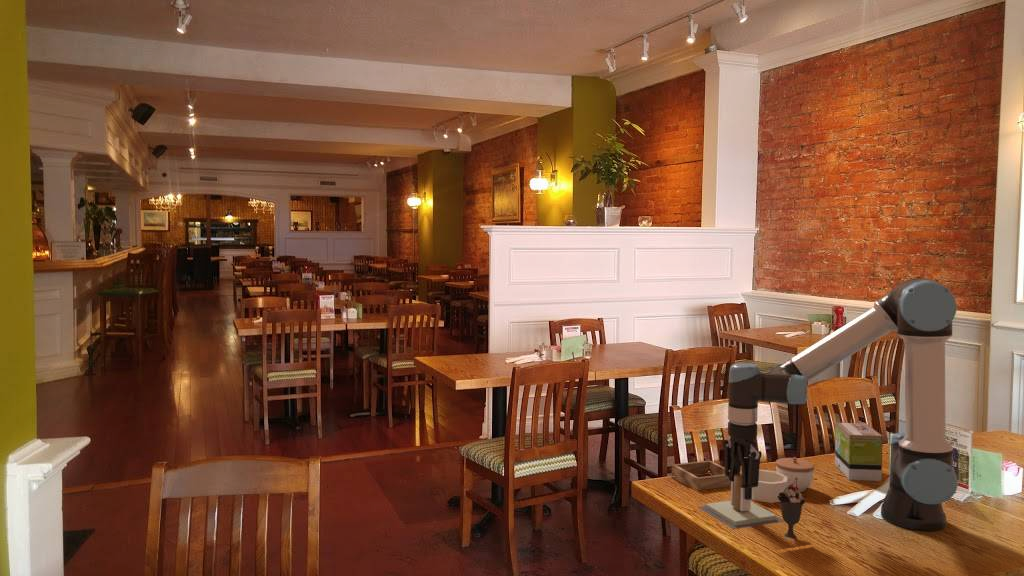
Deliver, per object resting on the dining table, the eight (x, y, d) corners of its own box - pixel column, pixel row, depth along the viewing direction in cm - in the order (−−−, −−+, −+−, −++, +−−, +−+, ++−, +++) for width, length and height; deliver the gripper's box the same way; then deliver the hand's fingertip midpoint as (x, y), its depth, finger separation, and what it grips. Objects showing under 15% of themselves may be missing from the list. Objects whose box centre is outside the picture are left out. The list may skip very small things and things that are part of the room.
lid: (776, 519, 189) (777, 481, 188) (734, 526, 185) (735, 486, 184) (745, 502, 201) (746, 466, 201) (705, 508, 197) (706, 471, 196)
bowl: (795, 501, 204) (796, 480, 204) (761, 506, 200) (761, 485, 200) (768, 487, 215) (768, 468, 215) (735, 492, 212) (735, 472, 211)
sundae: (803, 534, 181) (805, 476, 180) (805, 545, 175) (807, 485, 174) (776, 531, 183) (777, 473, 182) (776, 541, 177) (778, 481, 176)
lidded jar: (819, 495, 210) (820, 463, 209) (782, 494, 210) (783, 463, 209) (805, 482, 220) (806, 452, 220) (770, 482, 220) (770, 452, 220)
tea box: (833, 465, 237) (835, 421, 236) (865, 466, 236) (867, 422, 235) (848, 480, 222) (849, 433, 221) (882, 482, 221) (884, 434, 220)
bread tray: (737, 486, 216) (737, 473, 216) (697, 492, 211) (697, 478, 211) (709, 472, 229) (710, 460, 229) (671, 477, 225) (671, 464, 224)
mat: (784, 523, 188) (784, 521, 188) (733, 531, 183) (733, 529, 183) (746, 502, 203) (746, 500, 203) (697, 509, 198) (697, 506, 198)
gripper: (775, 428, 185) (772, 517, 186) (735, 413, 201) (732, 495, 202) (750, 430, 182) (748, 520, 184) (712, 415, 198) (710, 498, 200)
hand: (740, 507), depth 193 cm, fingers closed on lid, 4 cm apart
